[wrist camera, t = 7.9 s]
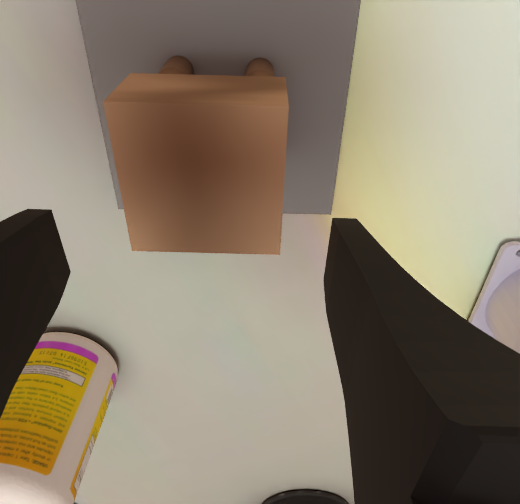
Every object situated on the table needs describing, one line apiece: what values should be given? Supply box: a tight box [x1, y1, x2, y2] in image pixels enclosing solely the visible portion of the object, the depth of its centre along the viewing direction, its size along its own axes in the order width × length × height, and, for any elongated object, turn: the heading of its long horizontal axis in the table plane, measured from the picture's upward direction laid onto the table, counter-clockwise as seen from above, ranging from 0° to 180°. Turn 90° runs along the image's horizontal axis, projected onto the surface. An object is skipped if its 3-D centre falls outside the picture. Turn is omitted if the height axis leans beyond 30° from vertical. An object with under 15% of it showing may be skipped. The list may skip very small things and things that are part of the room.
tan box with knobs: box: [103, 55, 289, 255], centre depth 16 cm, size 5×5×7 cm
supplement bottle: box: [0, 332, 118, 504], centre depth 25 cm, size 7×7×13 cm
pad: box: [76, 0, 361, 214], centre depth 19 cm, size 11×11×1 cm
